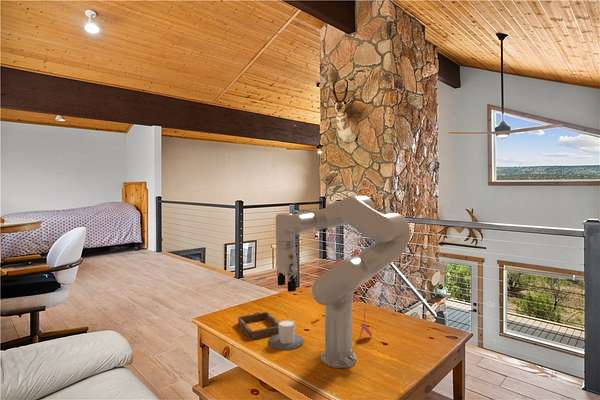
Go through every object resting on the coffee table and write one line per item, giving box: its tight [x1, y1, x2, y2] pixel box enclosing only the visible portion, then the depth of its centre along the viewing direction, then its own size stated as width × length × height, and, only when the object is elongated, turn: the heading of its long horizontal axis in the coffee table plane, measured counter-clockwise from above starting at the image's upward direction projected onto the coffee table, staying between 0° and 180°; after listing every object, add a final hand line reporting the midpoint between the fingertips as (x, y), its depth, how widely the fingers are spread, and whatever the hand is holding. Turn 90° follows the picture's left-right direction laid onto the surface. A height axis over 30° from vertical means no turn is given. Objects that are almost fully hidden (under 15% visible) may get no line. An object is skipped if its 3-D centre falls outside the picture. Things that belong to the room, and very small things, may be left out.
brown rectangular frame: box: [237, 311, 280, 341], centre depth 147 cm, size 18×14×3 cm
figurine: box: [334, 248, 385, 346], centre depth 143 cm, size 15×26×35 cm, turn 41°
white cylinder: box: [278, 319, 296, 344], centre depth 134 cm, size 7×7×7 cm
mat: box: [267, 333, 305, 351], centre depth 134 cm, size 14×14×1 cm
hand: (286, 288), depth 133 cm, fingers open, 9 cm apart
